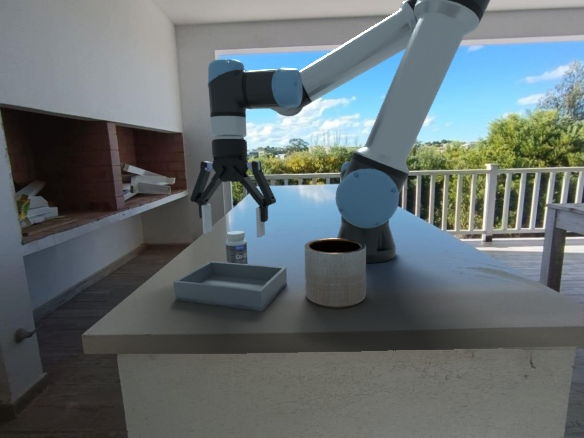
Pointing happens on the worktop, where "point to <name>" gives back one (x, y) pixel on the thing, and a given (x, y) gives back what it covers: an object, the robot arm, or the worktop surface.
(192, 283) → the grey tray
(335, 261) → the planter
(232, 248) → the pill bottle
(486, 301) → the worktop surface
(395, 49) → the robot arm
